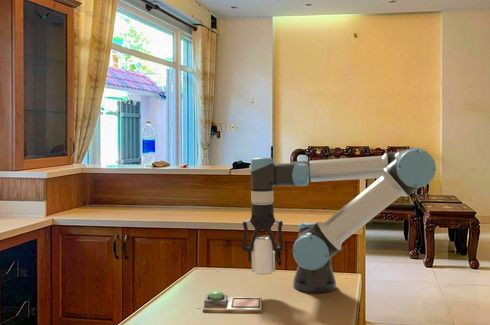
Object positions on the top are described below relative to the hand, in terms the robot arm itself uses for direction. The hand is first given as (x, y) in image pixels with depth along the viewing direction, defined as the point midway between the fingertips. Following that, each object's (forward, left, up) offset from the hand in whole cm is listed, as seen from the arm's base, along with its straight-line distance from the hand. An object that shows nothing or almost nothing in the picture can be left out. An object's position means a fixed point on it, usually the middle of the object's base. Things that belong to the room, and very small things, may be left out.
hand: (263, 270), depth 173 cm
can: (0, 0, -1) cm, 1 cm away
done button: (+15, +12, -6) cm, 20 cm away
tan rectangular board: (+10, +12, -8) cm, 17 cm away
